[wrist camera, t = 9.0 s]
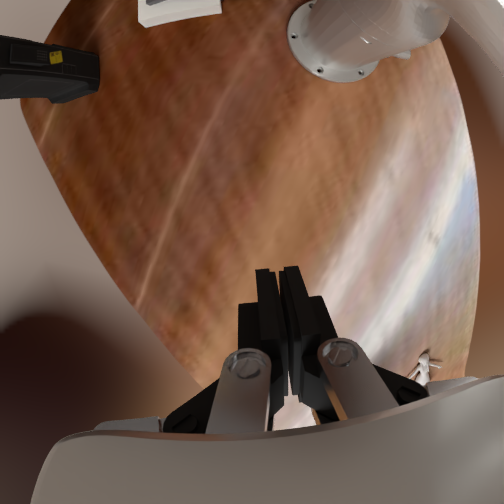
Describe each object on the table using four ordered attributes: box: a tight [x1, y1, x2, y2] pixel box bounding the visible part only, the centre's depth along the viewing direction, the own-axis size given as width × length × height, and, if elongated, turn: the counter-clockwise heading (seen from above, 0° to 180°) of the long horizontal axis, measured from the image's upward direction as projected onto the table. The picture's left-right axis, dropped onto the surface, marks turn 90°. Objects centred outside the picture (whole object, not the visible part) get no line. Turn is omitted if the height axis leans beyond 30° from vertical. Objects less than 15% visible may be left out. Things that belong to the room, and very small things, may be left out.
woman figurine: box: [408, 353, 442, 386], centre depth 55 cm, size 12×4×18 cm
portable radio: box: [0, 35, 99, 103], centre depth 17 cm, size 8×6×25 cm
